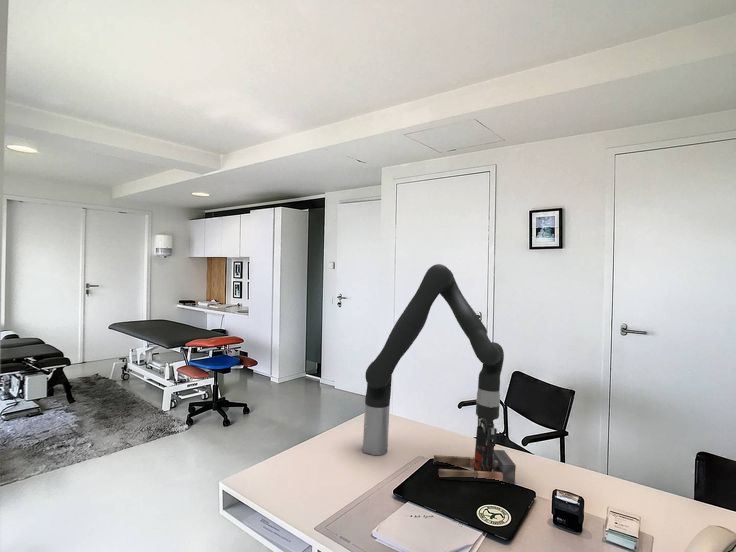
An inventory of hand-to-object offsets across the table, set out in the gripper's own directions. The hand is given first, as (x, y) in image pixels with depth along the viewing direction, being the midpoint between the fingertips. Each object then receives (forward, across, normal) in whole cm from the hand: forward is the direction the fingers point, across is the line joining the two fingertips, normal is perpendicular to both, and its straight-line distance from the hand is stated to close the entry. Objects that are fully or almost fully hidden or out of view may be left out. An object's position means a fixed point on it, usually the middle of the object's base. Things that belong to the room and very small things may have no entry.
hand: (485, 451), depth 133 cm
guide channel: (+8, 0, -5) cm, 9 cm away
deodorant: (+8, 0, 0) cm, 8 cm away
